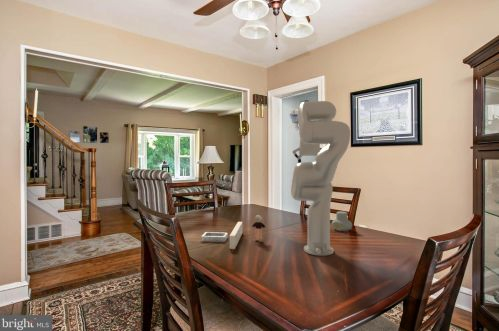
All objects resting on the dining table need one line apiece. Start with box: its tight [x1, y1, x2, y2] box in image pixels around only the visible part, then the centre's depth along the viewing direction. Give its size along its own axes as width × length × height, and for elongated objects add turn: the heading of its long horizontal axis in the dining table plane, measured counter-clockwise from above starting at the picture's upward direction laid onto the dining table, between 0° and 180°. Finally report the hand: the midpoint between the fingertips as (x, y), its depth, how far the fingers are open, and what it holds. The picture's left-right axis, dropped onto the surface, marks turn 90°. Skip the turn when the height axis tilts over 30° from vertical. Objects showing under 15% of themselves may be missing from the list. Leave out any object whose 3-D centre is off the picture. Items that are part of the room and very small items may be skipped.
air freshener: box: [331, 211, 353, 232], centre depth 153 cm, size 11×8×10 cm
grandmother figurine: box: [251, 214, 267, 242], centre depth 133 cm, size 8×4×13 cm, turn 81°
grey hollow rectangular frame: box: [200, 231, 229, 243], centre depth 136 cm, size 8×12×2 cm, turn 84°
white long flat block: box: [229, 221, 243, 250], centre depth 135 cm, size 26×2×6 cm, turn 174°
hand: (309, 166), depth 141 cm, fingers open, 9 cm apart
